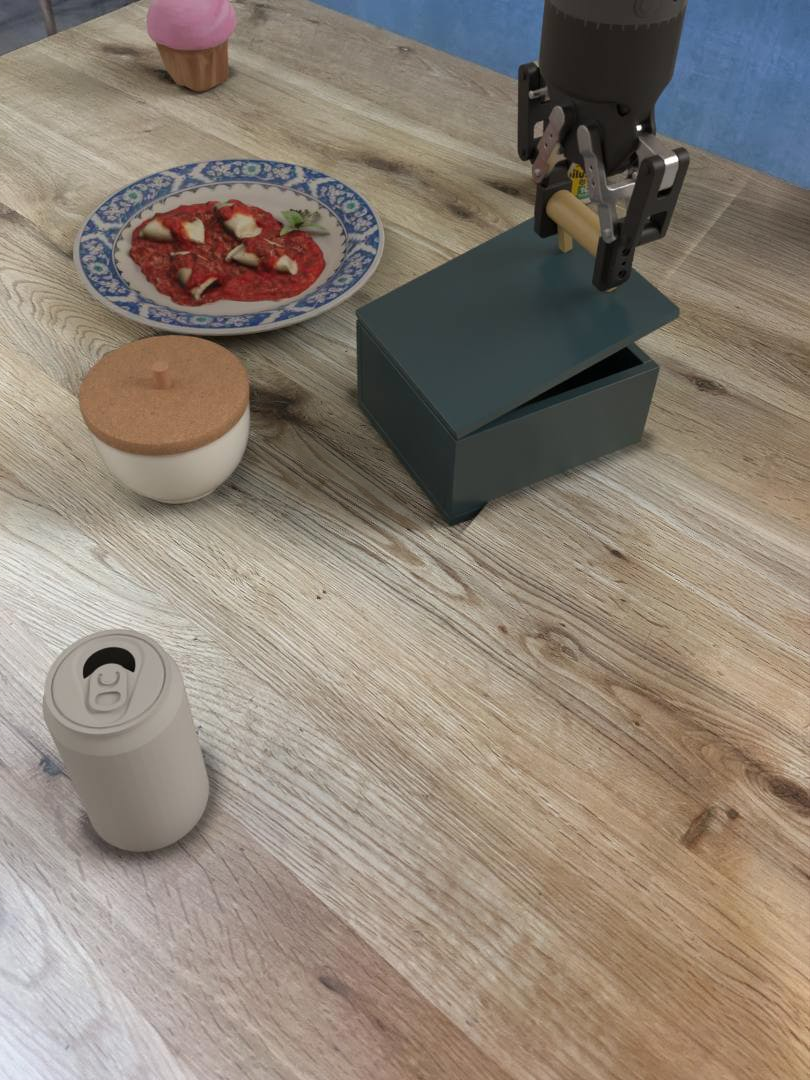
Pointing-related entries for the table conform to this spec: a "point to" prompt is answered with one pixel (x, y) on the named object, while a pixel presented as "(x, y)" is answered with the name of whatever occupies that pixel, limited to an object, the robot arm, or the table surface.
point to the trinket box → (168, 415)
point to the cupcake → (193, 39)
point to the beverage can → (127, 738)
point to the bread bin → (505, 428)
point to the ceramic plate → (228, 247)
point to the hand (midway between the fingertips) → (578, 257)
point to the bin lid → (511, 318)
